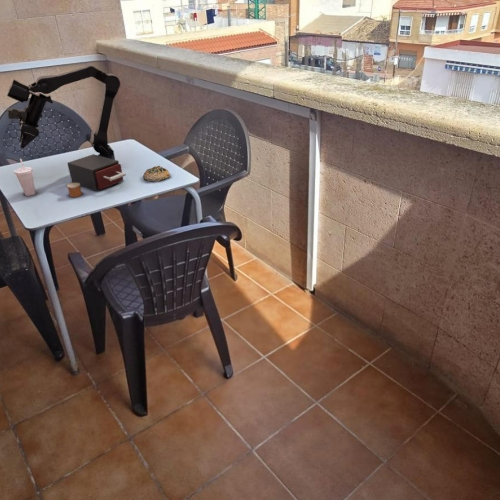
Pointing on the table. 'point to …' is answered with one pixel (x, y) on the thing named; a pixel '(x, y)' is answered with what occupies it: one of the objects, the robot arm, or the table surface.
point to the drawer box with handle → (88, 170)
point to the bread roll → (156, 174)
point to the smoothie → (26, 179)
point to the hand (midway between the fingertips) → (21, 144)
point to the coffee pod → (74, 189)
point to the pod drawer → (109, 176)
